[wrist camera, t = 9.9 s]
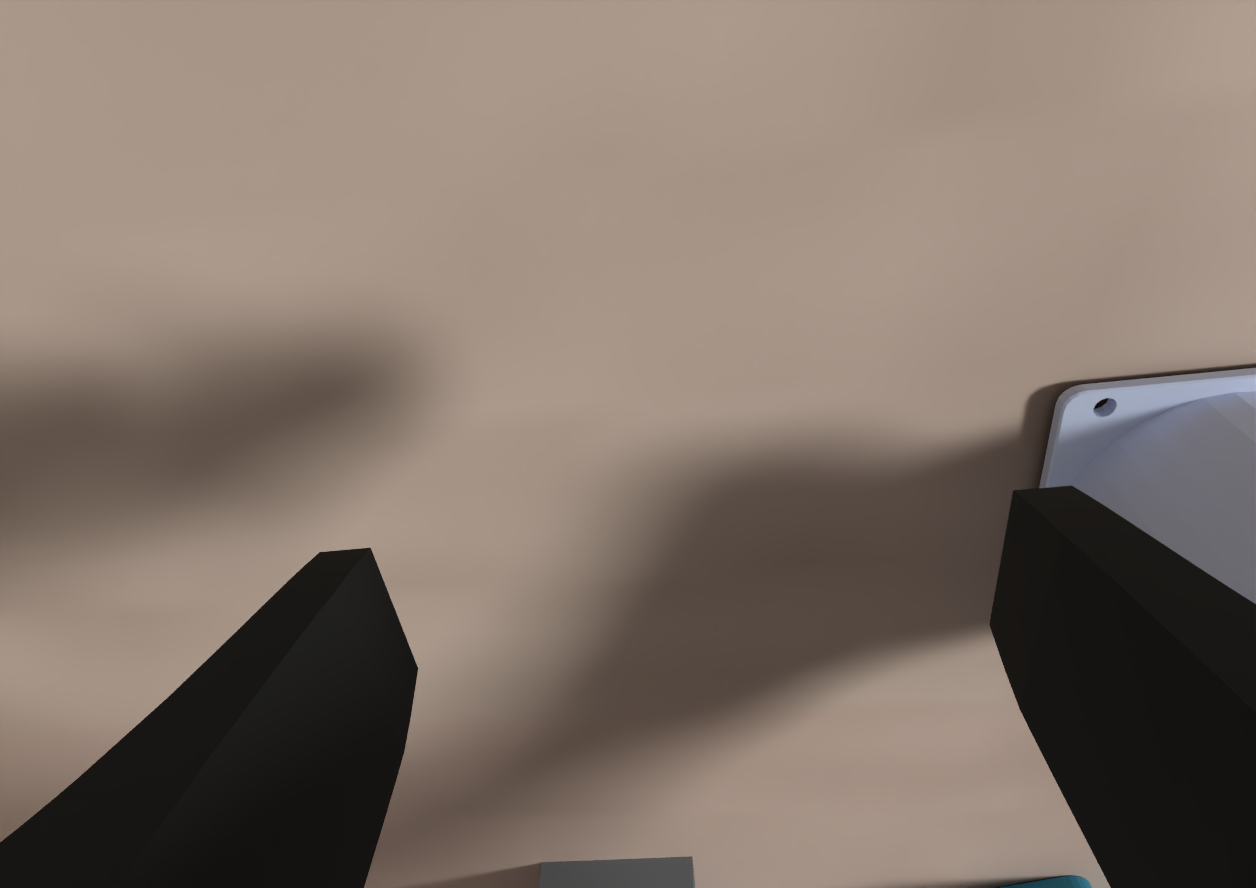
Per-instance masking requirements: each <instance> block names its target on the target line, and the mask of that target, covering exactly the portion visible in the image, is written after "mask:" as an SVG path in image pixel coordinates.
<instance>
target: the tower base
mask: <svg viewBox="0 0 1256 888" xmlns="http://www.w3.org/2000/svg"><path fill="white" fill-rule="evenodd" d="M539 888H695V880H694V870H693V860H692V857H671V858H646V859H620V860H595V861H569V862H543V863H541V871H540V880H539Z"/></svg>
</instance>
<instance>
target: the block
mask: <svg viewBox="0 0 1256 888" xmlns="http://www.w3.org/2000/svg"><path fill="white" fill-rule="evenodd" d="M1000 888H1092V887H1091V885H1090V883H1089V882H1088V881H1087V880H1086V879H1084V878H1082V877H1077V876H1064V877H1057V878H1051V879H1046V880H1040V881H1034V882H1029V883H1023V884H1017V885H1011V886H1006V887H1000Z"/></svg>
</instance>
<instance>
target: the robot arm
mask: <svg viewBox="0 0 1256 888" xmlns="http://www.w3.org/2000/svg"><path fill="white" fill-rule="evenodd" d="M1106 398H1109V399H1108V400H1107V402H1106V404H1104V405H1103V406H1102V407H1100V408H1096V409H1094V407H1095V405H1096V404H1097V403H1098V402H1099V401H1100V400H1103V399H1106ZM990 628H991V631H992V633H993V636H994V639H995V642H996V645H997V648H998V651H999V654H1000V657H1001V659H1002V662H1003V665H1004V668H1005V671H1006V674H1007V676H1008V679H1009V682H1010V684H1011V687H1012V690H1013V692H1014V695H1015V697H1016V700H1017V703H1018V705H1019V708H1020V710H1021V712H1022V714H1023V716H1024V718H1025V721H1026V723H1027V725H1028V727H1029V729H1030V731H1031V733H1032V735H1033V737H1034V739H1035V741H1036V743H1037V745H1038V747H1039V748H1040V750H1041V752H1042V754H1043V756H1044V758H1045V760H1046V762H1047V764H1048V766H1049V768H1050V770H1051V772H1052V774H1053V776H1054V778H1055V780H1056V782H1057V784H1058V786H1059V788H1060V790H1061V792H1062V794H1063V796H1064V798H1065V799H1066V801H1067V803H1068V805H1069V807H1070V809H1071V811H1072V813H1073V815H1074V817H1075V819H1076V821H1077V823H1078V825H1079V827H1080V829H1081V831H1082V832H1083V834H1084V836H1085V838H1086V840H1087V842H1088V844H1089V846H1090V848H1091V850H1092V852H1093V854H1094V856H1095V858H1096V860H1097V862H1098V864H1099V865H1100V867H1101V869H1102V871H1103V873H1104V875H1105V877H1106V879H1107V881H1108V883H1109V885H1110V887H1111V888H1256V368H1248V369H1238V370H1227V371H1217V372H1207V373H1196V374H1186V375H1175V376H1165V377H1155V378H1144V379H1134V380H1123V381H1113V382H1102V383H1092V384H1082V385H1077V386H1073V387H1071V388H1069V389H1067V390H1066V391H1064V392H1063V393H1062V394H1061V395H1060V397H1059V398H1058V400H1057V402H1056V405H1055V410H1054V415H1053V420H1052V425H1051V430H1050V435H1049V440H1048V445H1047V451H1046V456H1045V461H1044V466H1043V471H1042V476H1041V481H1040V486H1039V488H1037V489H1026V490H1015V491H1013V495H1012V501H1011V506H1010V512H1009V518H1008V523H1007V529H1006V534H1005V540H1004V546H1003V551H1002V557H1001V563H1000V568H999V574H998V580H997V585H996V591H995V596H994V602H993V608H992V613H991V619H990ZM417 672H418V667H417V665H416V662H415V660H414V657H413V654H412V652H411V649H410V647H409V644H408V642H407V639H406V637H405V634H404V632H403V629H402V627H401V624H400V621H399V619H398V616H397V614H396V611H395V609H394V606H393V604H392V601H391V599H390V596H389V594H388V591H387V588H386V586H385V583H384V581H383V578H382V576H381V573H380V571H379V568H378V566H377V563H376V561H375V558H374V555H373V553H372V550H371V548H363V549H351V550H340V551H329V552H320V553H319V554H317V555H316V556H315V557H314V558H313V559H312V560H311V561H310V562H308V563H307V564H306V565H305V566H304V567H303V568H302V569H301V570H300V571H299V572H297V573H296V574H295V575H294V576H293V577H292V578H291V579H290V580H289V581H288V582H287V583H286V584H285V585H284V586H283V587H282V588H281V589H280V590H279V591H278V592H277V593H276V594H274V595H273V596H272V597H271V598H270V599H269V600H268V601H267V602H266V603H265V604H264V605H263V606H262V607H261V608H260V609H259V610H258V611H257V612H256V613H255V614H254V615H253V616H252V617H251V618H250V619H249V620H248V621H247V622H246V623H245V624H244V625H243V626H242V627H241V628H240V629H239V630H238V631H237V632H236V633H235V634H234V635H233V636H232V637H230V638H229V639H228V640H227V641H226V642H225V643H224V644H223V645H222V646H221V647H220V648H219V649H218V650H217V651H216V652H215V653H214V654H213V655H212V656H211V657H210V658H209V659H208V660H207V661H206V662H205V663H203V664H202V665H201V666H200V667H199V668H198V669H197V670H196V671H195V672H194V673H193V674H192V675H191V676H190V677H189V678H188V679H187V680H186V681H185V682H184V683H183V684H182V685H181V686H180V687H179V688H177V689H176V690H175V691H174V692H173V693H172V694H171V695H170V696H169V697H168V698H167V699H166V700H165V701H164V702H162V703H161V704H160V705H159V706H158V707H157V708H156V709H155V710H154V711H152V712H151V713H150V714H149V715H148V716H147V717H146V718H145V719H144V720H142V721H141V722H140V723H139V724H138V725H137V726H136V727H135V728H134V729H132V730H131V731H130V732H129V733H128V734H127V735H126V736H125V737H123V738H122V739H121V740H120V741H119V742H118V743H117V744H116V745H115V746H113V747H112V748H111V749H110V750H109V751H108V752H107V753H106V754H105V755H103V756H102V757H101V758H100V759H99V760H98V761H97V762H96V763H95V764H93V765H92V766H91V767H90V768H89V769H88V770H87V771H86V772H85V773H83V774H82V775H81V776H80V777H79V778H78V779H77V780H76V781H74V782H73V783H72V784H71V785H70V786H68V787H67V788H66V789H65V790H64V791H63V792H61V793H60V794H59V795H58V796H57V797H56V798H54V799H53V800H52V801H51V802H50V803H48V804H47V805H46V806H45V807H44V808H42V809H41V810H40V811H39V812H37V813H36V814H35V815H34V816H33V817H31V818H30V819H29V820H28V821H27V822H25V823H24V824H23V825H22V826H20V827H19V828H18V829H17V830H16V831H14V832H13V833H12V834H10V835H9V836H8V837H7V838H5V839H4V840H3V841H2V842H0V888H364V885H365V882H366V879H367V875H368V872H369V869H370V865H371V862H372V859H373V856H374V852H375V849H376V846H377V842H378V839H379V836H380V833H381V829H382V826H383V823H384V819H385V816H386V813H387V809H388V806H389V802H390V799H391V796H392V792H393V789H394V785H395V782H396V779H397V775H398V772H399V768H400V765H401V761H402V758H403V754H404V750H405V745H406V739H407V734H408V728H409V723H410V717H411V711H412V705H413V698H414V691H415V685H416V678H417Z"/></svg>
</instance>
